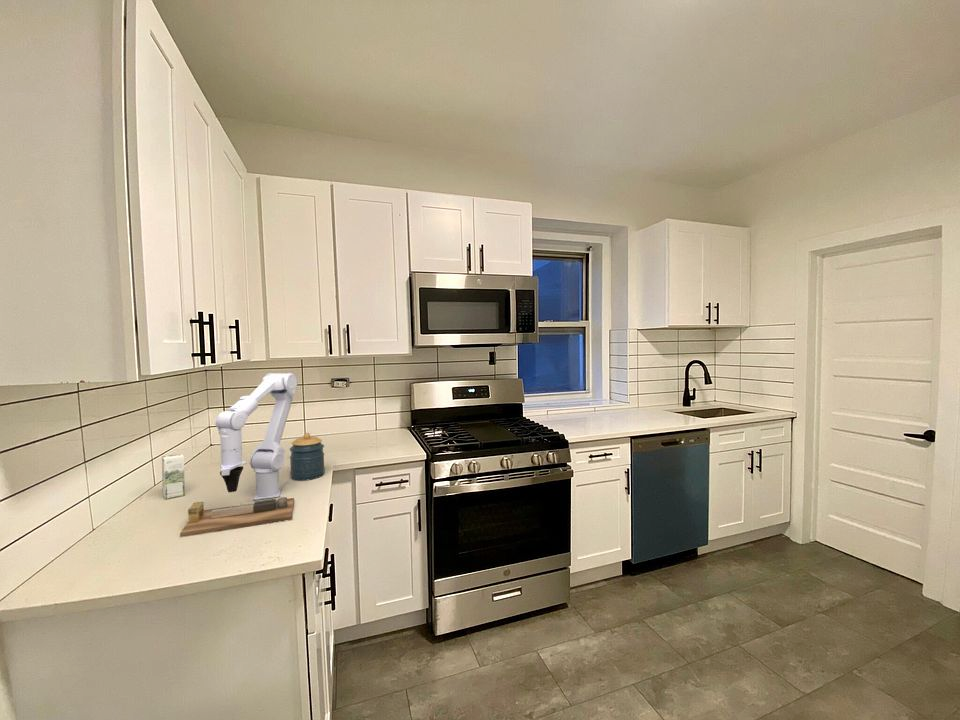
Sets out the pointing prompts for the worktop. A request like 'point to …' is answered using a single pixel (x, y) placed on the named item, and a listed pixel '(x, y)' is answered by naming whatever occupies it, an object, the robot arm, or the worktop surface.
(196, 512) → the wooden u-shaped block
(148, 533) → the worktop surface
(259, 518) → the tong board
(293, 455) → the canister
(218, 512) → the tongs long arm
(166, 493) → the syrup box
